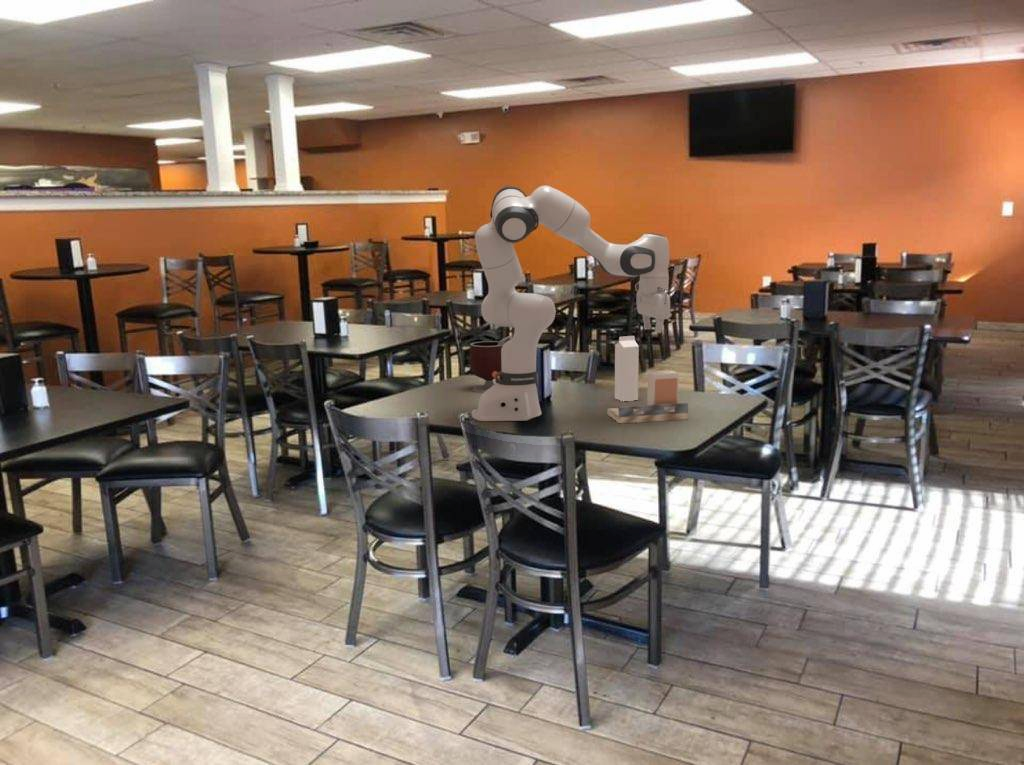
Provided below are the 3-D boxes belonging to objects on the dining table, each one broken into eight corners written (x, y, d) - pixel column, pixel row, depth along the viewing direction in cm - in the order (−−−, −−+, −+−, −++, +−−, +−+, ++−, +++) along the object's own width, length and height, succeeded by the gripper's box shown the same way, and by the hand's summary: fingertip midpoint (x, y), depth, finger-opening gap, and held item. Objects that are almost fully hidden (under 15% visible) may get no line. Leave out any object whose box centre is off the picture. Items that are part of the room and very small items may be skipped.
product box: (653, 412, 260) (654, 374, 258) (647, 408, 266) (647, 371, 263) (677, 411, 261) (678, 373, 259) (671, 407, 267) (671, 370, 265)
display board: (619, 423, 255) (619, 407, 254) (607, 414, 267) (607, 399, 266) (687, 419, 260) (688, 403, 259) (672, 410, 271) (673, 395, 270)
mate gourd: (468, 393, 304) (467, 338, 300) (472, 386, 317) (470, 333, 313) (511, 393, 303) (510, 338, 299) (513, 385, 317) (512, 333, 313)
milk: (614, 399, 291) (614, 335, 287) (630, 397, 293) (630, 334, 289) (622, 402, 285) (623, 337, 281) (638, 400, 287) (639, 336, 283)
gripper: (676, 288, 251) (674, 334, 253) (652, 284, 270) (650, 327, 273) (656, 288, 249) (654, 335, 252) (633, 284, 269) (632, 327, 272)
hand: (652, 330), depth 262 cm, fingers open, 8 cm apart
